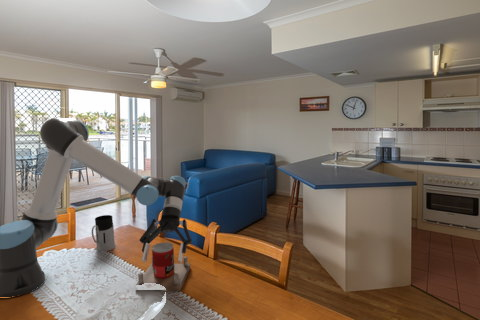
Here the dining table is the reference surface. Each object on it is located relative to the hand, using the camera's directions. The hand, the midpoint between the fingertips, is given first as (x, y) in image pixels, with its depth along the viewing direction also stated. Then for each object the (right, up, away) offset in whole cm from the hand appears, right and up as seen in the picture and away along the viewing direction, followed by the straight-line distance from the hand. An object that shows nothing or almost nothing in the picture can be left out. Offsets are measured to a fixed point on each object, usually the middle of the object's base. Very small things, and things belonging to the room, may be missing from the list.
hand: (161, 261), depth 103 cm
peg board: (0, -8, +3) cm, 8 cm away
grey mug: (-36, -5, +29) cm, 47 cm away
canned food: (0, -6, +3) cm, 7 cm away
